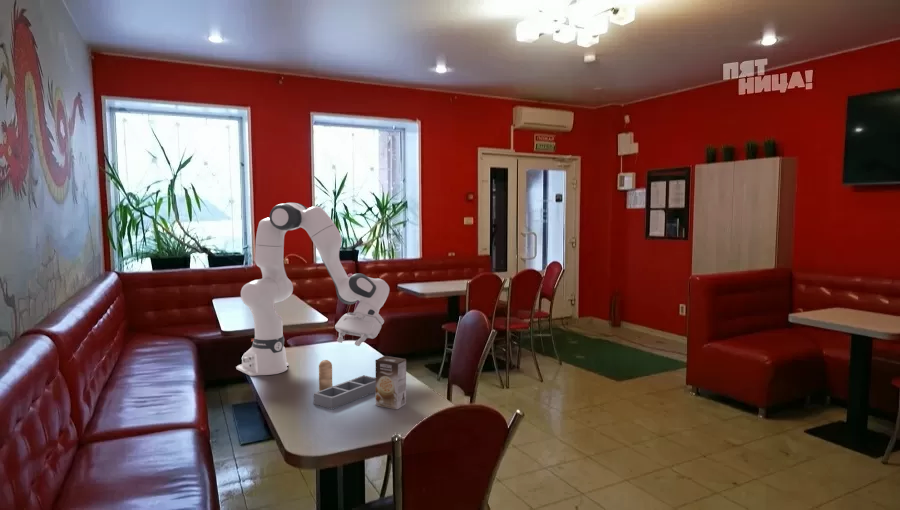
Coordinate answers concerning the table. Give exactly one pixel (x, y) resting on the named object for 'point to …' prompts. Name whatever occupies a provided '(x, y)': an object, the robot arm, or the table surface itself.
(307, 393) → the table surface
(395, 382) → the coffee box
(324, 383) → the tan domed cylinder
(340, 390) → the grey compartment tray
